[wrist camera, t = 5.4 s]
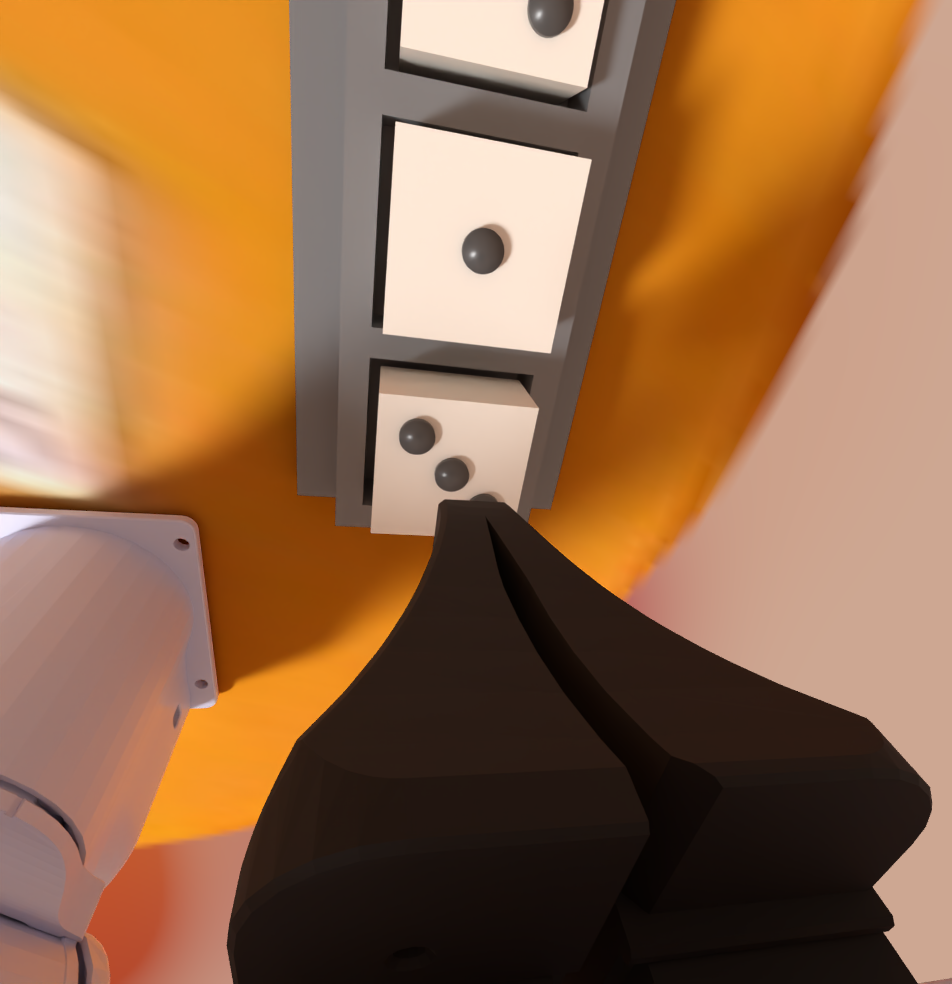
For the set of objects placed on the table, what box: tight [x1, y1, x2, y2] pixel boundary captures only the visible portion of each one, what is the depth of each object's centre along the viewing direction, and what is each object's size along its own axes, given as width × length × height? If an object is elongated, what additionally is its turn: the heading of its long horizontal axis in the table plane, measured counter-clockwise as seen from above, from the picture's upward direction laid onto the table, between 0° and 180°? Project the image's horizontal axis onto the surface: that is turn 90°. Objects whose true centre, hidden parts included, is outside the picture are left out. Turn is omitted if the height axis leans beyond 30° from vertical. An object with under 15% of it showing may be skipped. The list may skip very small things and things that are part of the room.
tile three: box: [371, 366, 539, 536], centre depth 15 cm, size 4×4×3 cm
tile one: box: [383, 122, 592, 353], centre depth 12 cm, size 4×4×3 cm
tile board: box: [289, 0, 676, 527], centre depth 14 cm, size 17×9×3 cm, turn 172°
